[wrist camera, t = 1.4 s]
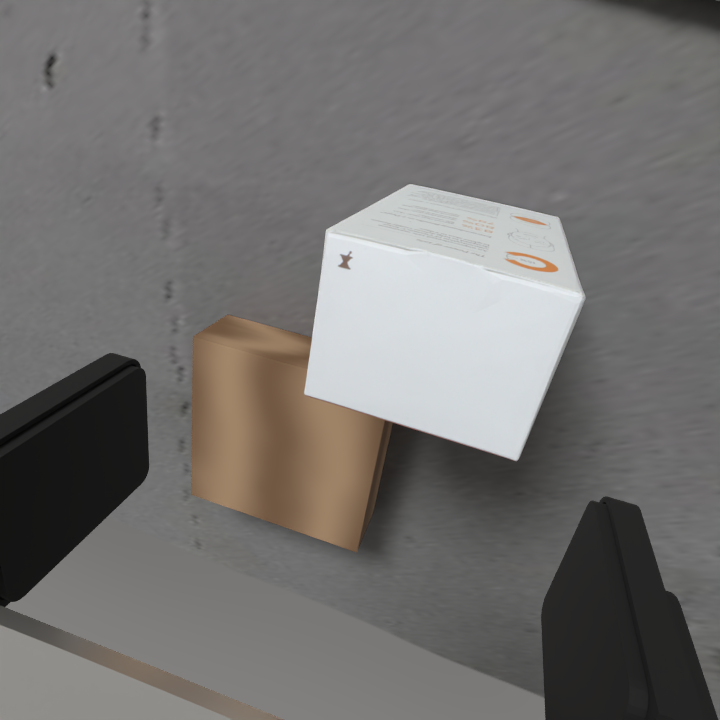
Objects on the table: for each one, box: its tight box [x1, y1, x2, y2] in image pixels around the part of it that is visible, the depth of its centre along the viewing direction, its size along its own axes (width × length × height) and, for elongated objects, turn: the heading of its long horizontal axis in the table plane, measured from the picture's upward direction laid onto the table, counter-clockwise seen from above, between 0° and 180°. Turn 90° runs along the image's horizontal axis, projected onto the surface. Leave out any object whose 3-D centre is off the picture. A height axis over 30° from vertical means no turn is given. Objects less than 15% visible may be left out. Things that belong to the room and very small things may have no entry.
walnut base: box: [191, 315, 393, 552], centre depth 34 cm, size 12×12×4 cm
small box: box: [304, 184, 585, 461], centre depth 23 cm, size 8×6×13 cm
